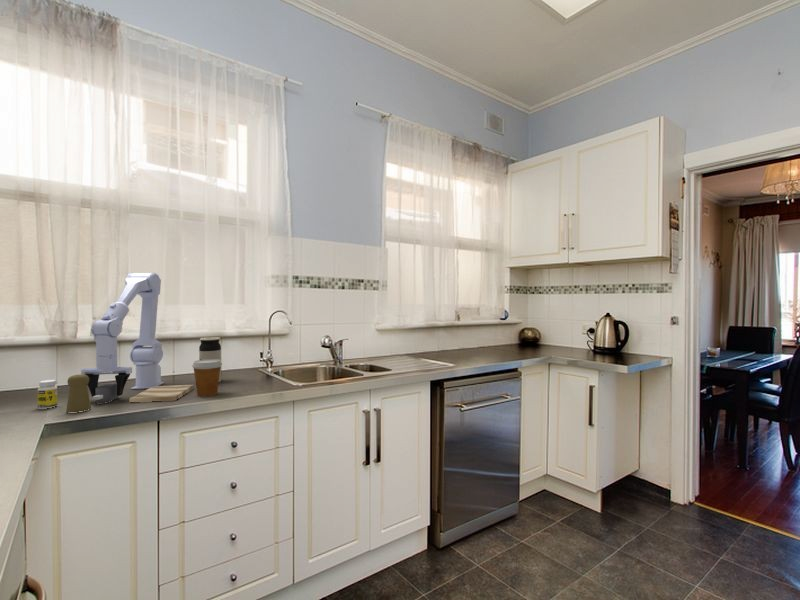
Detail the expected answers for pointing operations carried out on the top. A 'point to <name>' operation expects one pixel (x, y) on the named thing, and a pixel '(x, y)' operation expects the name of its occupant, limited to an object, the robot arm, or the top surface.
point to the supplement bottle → (47, 394)
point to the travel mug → (210, 350)
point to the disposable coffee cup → (207, 376)
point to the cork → (78, 393)
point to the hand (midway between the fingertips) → (107, 395)
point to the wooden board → (162, 393)
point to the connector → (106, 393)
